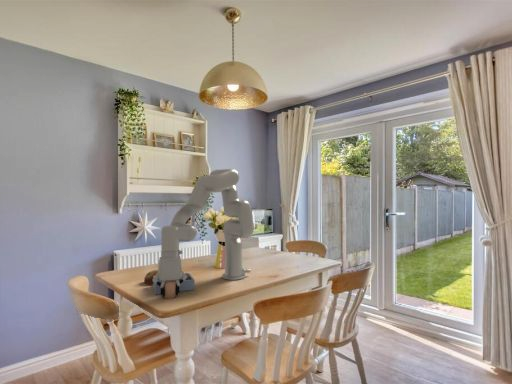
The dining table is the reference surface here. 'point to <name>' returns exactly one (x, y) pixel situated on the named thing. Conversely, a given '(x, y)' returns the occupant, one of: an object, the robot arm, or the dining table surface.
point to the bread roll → (150, 277)
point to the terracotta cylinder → (170, 289)
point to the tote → (184, 286)
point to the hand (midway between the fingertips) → (169, 294)
